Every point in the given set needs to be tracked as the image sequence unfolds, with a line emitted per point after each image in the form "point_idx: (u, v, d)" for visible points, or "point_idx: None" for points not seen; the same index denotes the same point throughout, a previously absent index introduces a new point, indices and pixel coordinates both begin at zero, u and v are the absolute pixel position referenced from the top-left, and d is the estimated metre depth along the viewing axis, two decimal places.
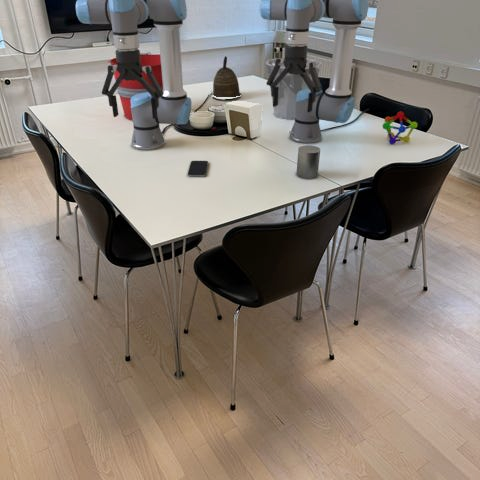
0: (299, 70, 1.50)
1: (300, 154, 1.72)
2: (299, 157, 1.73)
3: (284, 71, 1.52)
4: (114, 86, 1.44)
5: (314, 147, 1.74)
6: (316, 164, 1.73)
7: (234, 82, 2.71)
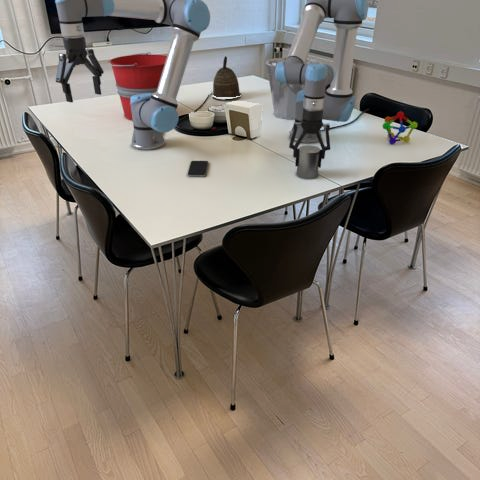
0: (317, 131, 1.67)
1: (300, 154, 1.72)
2: (299, 157, 1.73)
3: (304, 133, 1.68)
4: (69, 72, 1.57)
5: (314, 147, 1.74)
6: (316, 164, 1.73)
7: (234, 82, 2.71)
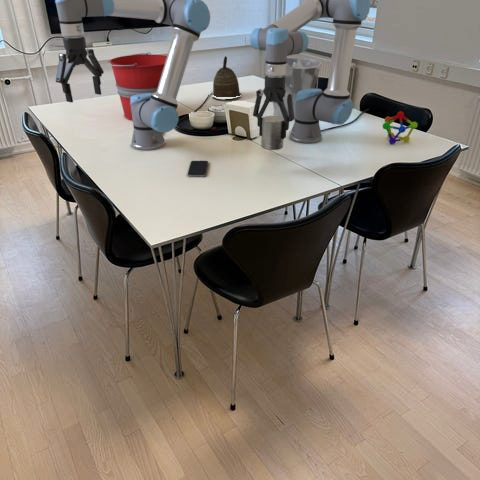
0: (278, 99, 1.62)
1: (262, 123, 1.68)
2: (262, 126, 1.69)
3: (266, 100, 1.64)
4: (69, 72, 1.57)
5: (280, 118, 1.69)
6: (277, 135, 1.67)
7: (234, 82, 2.71)
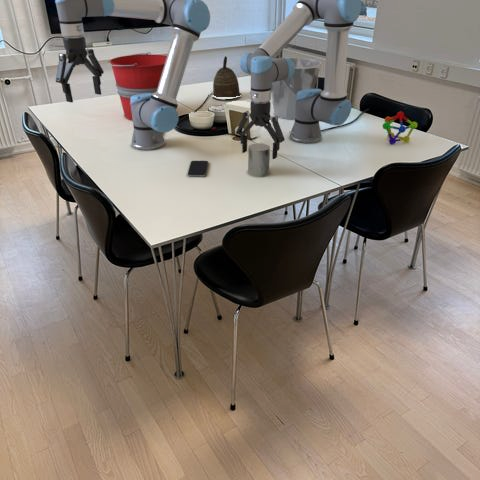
0: (263, 123, 1.67)
1: (248, 150, 1.75)
2: (248, 153, 1.76)
3: (251, 123, 1.70)
4: (69, 72, 1.57)
5: (266, 146, 1.75)
6: (262, 163, 1.74)
7: (234, 82, 2.71)
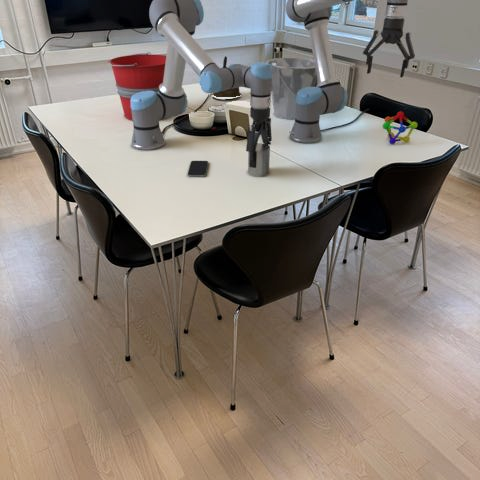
0: (396, 40, 1.73)
1: None
2: (248, 153, 1.76)
3: (381, 41, 1.76)
4: (256, 141, 1.69)
5: (266, 146, 1.75)
6: (262, 163, 1.74)
7: None
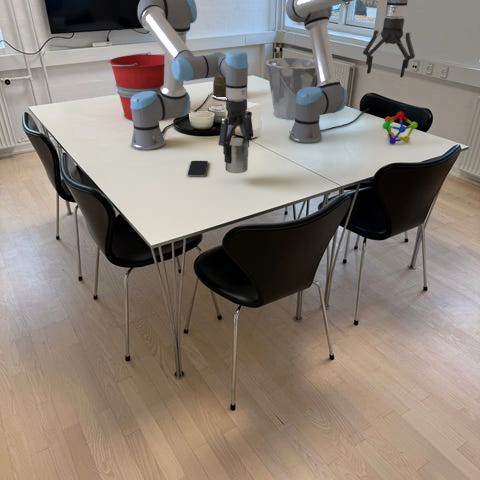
0: (396, 40, 1.73)
1: None
2: None
3: (381, 41, 1.76)
4: (230, 135, 1.59)
5: (244, 141, 1.64)
6: (237, 159, 1.63)
7: None
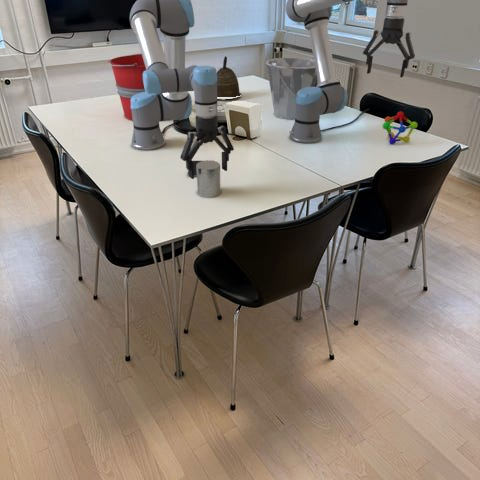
0: (396, 40, 1.73)
1: None
2: None
3: (381, 41, 1.76)
4: (195, 151, 1.52)
5: (215, 165, 1.58)
6: (206, 182, 1.58)
7: (234, 82, 2.71)
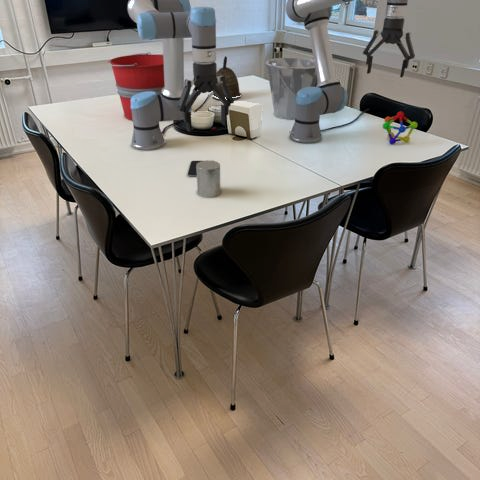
0: (396, 40, 1.73)
1: None
2: None
3: (381, 41, 1.76)
4: (192, 101, 1.43)
5: (215, 165, 1.58)
6: (206, 182, 1.58)
7: (234, 82, 2.71)
